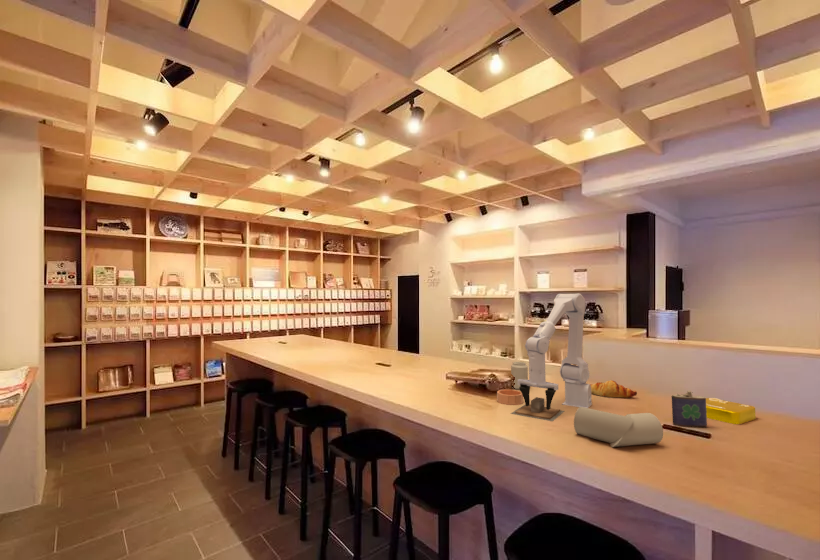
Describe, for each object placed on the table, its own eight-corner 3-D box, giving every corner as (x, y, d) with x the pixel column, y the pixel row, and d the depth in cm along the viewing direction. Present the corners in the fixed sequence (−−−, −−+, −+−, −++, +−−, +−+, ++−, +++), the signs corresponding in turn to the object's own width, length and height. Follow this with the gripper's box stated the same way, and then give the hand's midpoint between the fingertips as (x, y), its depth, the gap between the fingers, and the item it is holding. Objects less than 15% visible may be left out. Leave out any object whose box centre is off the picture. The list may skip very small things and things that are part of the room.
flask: (704, 425, 129) (703, 390, 129) (709, 428, 126) (708, 392, 126) (671, 423, 131) (669, 388, 131) (675, 426, 128) (674, 391, 128)
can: (530, 390, 178) (529, 363, 178) (513, 390, 178) (513, 363, 178) (525, 386, 185) (525, 361, 186) (509, 386, 185) (509, 361, 186)
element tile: (687, 414, 142) (687, 401, 142) (708, 408, 149) (708, 395, 149) (737, 426, 129) (736, 411, 129) (758, 419, 136) (757, 405, 136)
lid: (560, 411, 144) (559, 398, 144) (549, 419, 134) (549, 406, 134) (527, 405, 151) (527, 393, 151) (515, 413, 141) (515, 400, 141)
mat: (564, 412, 144) (564, 410, 144) (552, 422, 132) (552, 421, 132) (525, 405, 153) (525, 404, 153) (510, 414, 141) (510, 413, 141)
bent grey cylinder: (606, 451, 104) (670, 445, 108) (599, 410, 107) (661, 406, 111) (568, 442, 121) (625, 438, 125) (563, 407, 124) (619, 403, 128)
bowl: (526, 401, 158) (526, 391, 158) (517, 407, 150) (517, 396, 150) (503, 398, 164) (503, 388, 164) (493, 403, 156) (493, 393, 156)
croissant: (582, 401, 172) (579, 386, 169) (585, 386, 180) (583, 372, 177) (637, 407, 160) (635, 392, 157) (638, 391, 168) (636, 376, 165)
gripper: (514, 369, 144) (514, 406, 144) (554, 373, 136) (554, 413, 135) (521, 366, 150) (521, 402, 149) (559, 370, 141) (560, 408, 141)
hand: (537, 407), depth 142 cm, fingers open, 7 cm apart
